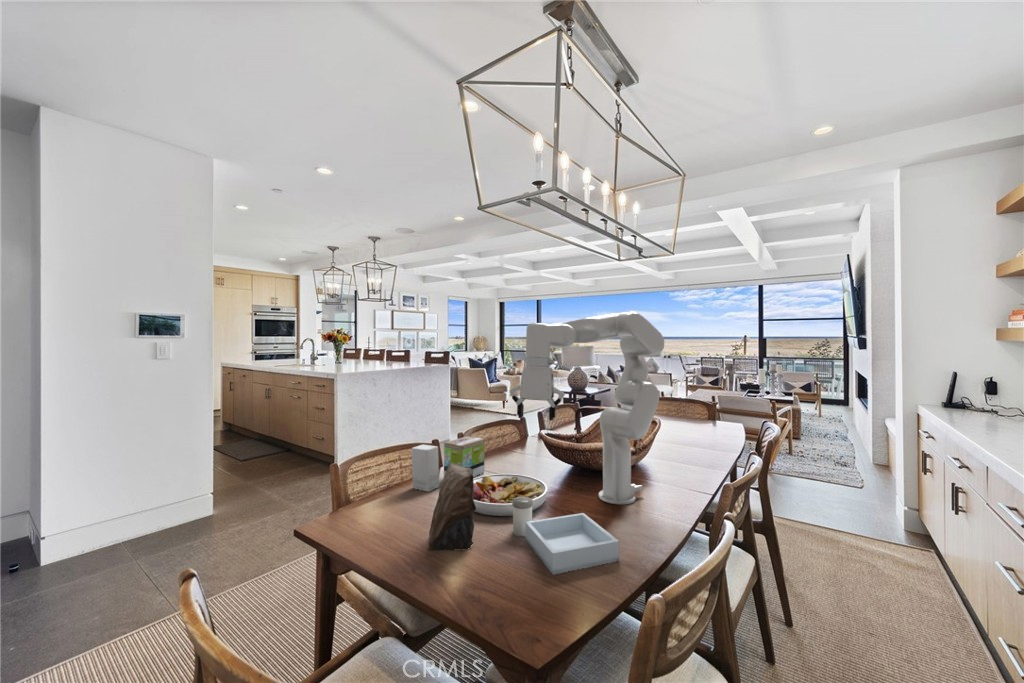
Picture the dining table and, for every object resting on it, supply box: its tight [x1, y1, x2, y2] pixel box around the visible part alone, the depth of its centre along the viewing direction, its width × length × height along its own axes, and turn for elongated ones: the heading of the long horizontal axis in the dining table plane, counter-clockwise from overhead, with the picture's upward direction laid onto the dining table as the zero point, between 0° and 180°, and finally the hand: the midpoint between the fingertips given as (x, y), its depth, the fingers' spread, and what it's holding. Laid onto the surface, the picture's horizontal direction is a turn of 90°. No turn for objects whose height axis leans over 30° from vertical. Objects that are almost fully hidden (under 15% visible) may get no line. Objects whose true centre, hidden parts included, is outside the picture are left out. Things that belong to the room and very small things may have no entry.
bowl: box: [473, 473, 548, 517], centre depth 141 cm, size 30×30×8 cm
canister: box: [512, 497, 533, 537], centre depth 118 cm, size 6×6×9 cm
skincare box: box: [411, 444, 440, 493], centre depth 154 cm, size 8×7×16 cm
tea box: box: [443, 435, 486, 478], centre depth 168 cm, size 15×10×15 cm
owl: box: [427, 463, 476, 552], centre depth 112 cm, size 13×13×20 cm
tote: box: [525, 512, 620, 576], centre depth 107 cm, size 18×18×5 cm
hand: (535, 418), depth 126 cm, fingers open, 9 cm apart
